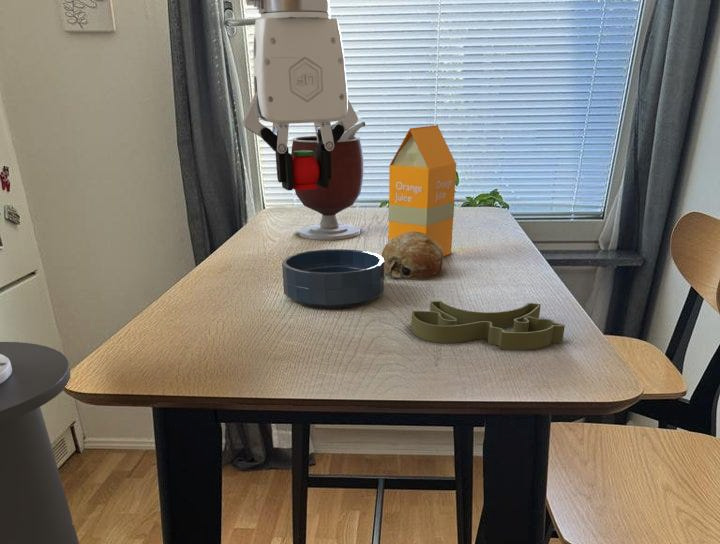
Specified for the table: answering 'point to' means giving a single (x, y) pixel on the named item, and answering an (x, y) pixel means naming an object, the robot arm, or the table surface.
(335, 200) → the mate gourd
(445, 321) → the cookie cutter
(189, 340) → the table surface
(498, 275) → the table surface
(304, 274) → the bowl
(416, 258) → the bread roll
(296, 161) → the red green jar
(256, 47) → the robot arm
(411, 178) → the orange juice
